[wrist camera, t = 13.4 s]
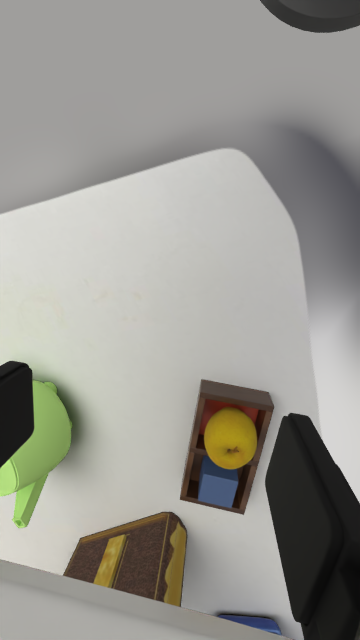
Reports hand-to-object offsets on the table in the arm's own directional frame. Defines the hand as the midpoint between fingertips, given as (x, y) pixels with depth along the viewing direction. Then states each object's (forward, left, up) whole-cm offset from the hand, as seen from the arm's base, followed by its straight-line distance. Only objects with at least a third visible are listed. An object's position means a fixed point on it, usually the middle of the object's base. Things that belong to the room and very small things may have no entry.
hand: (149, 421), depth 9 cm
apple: (-7, +15, -24) cm, 29 cm away
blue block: (-7, +23, -24) cm, 34 cm away
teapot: (+21, +21, -24) cm, 38 cm away
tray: (-7, +19, -24) cm, 32 cm away
